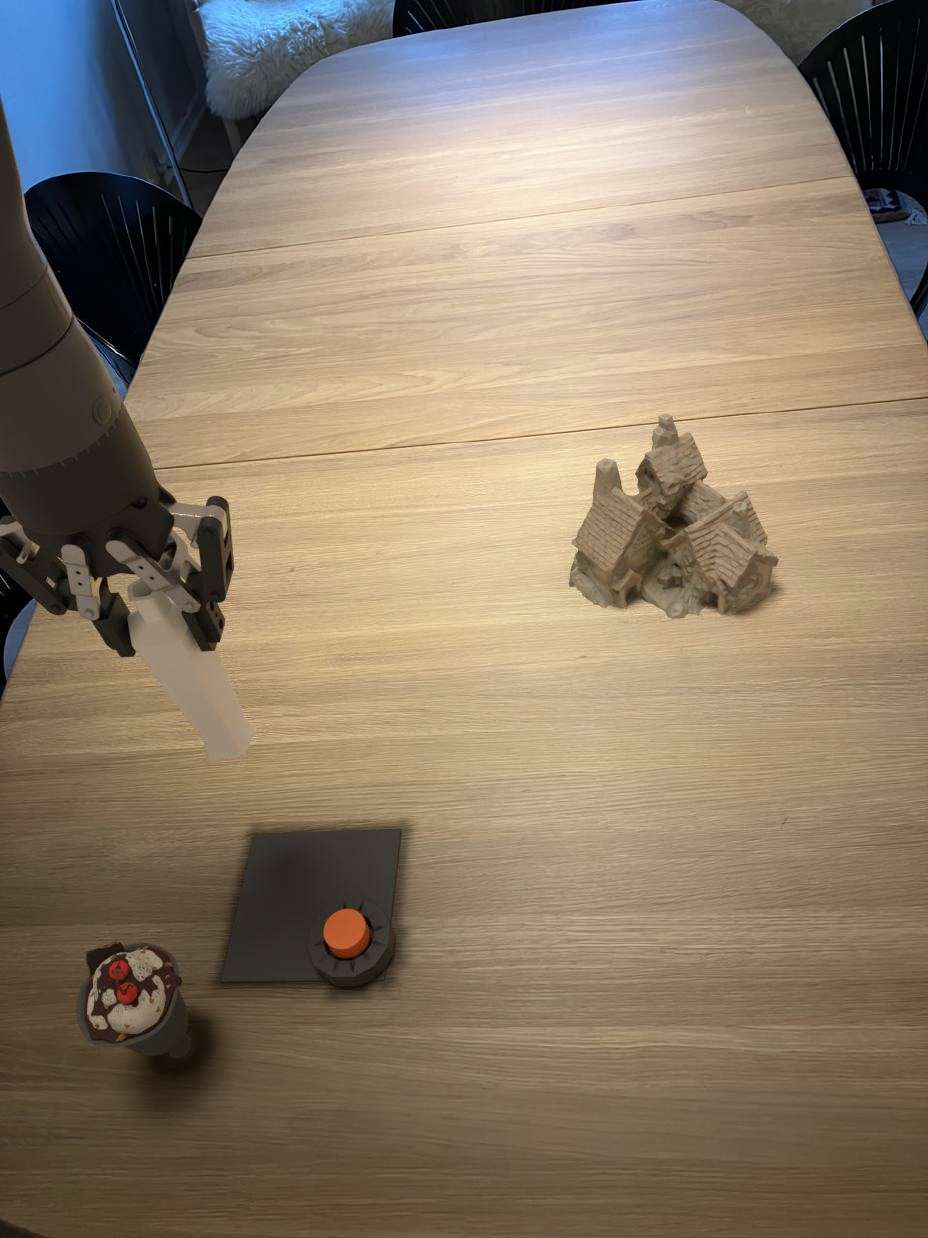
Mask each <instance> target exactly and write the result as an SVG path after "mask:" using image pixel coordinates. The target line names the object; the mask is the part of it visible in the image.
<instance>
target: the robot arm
mask: <svg viewBox="0 0 928 1238" xmlns="http://www.w3.org/2000/svg"><path fill="white" fill-rule="evenodd" d="M21 177H22V176H21V173H20V169H19V165H18V161H17V157H16V153H15V149H14V145H13V141H12V135H11V133H10V128H9V124H8V120H7V116H6V111H5V108H4V103H3V100H2V95H1V94H0V498H1V500H2V502H3V503H4V505H5V506H6V508H7V509H8V511H9V512H10V514H11V515H4V516H2V517H1V519H0V569H1V570H3V571H4V572H5V573H6V574H7V575H8V576H9V577H10V578H11V579H12V580H13V581H15V582H16V583H17V584H18V585H19V586H20V587H21V588H22V589H23V590H24V591H25V592H26V593H28V594H29V595H30V596H31V597H32V598H33V599H34V600H35V601H36V602H37V603H38V604H39V605H41V606H42V607H43V608H44V609H45V610H46V611H47V612H48V613H50V614H52V615H54V616H60V617H61V616H63V615H66V614H67V611H70V612H71V611H72V612H78V615H79V616H80V617H81V618H83V619H84V620H87V621H91V623H92V624H93V626H94V628H95V630H96V631H97V633H98V634H99V636H100V637H101V638H102V640H103V642H104V644H105V645H106V646H107V647H108V648H110V649H111V650H112V651H116V653H117V654H118V656H119V657H120V658H133V657H135V656H136V654H137V652H136V650H135V649H134V648H133V646H132V643H131V637H130V631H129V625H128V620H127V618H128V615H129V614H130V613H131V611H130V609H129V608H128V606H127V604H126V602H125V600H124V599H123V597H122V596H121V594H120V592H119V591H115V592H112V591H111V588H112V581H111V577H114V576H117V575H119V574H123V575H133V576H137V577H138V579H140V578H141V579H142V580H143V581H144V582H145V583H146V584H147V585H148V586H149V587H150V588H151V589H152V590H153V591H154V592H161V591H163V592H164V593H165V594H166V595H167V596H168V597H169V598H170V599H171V600H172V601H173V602H174V603H175V604H176V605H178V606H179V607H180V608H181V609H182V612H181V615H182V616H183V618H184V620H185V622H186V624H187V626H188V628H189V629H190V631H191V633H192V635H193V637H194V639H195V640H196V642H197V644H198V646H199V648H200V650H201V651H202V652H206V651H215V649H216V647H217V646H218V643H221V641H222V637H223V633H224V630H225V627H226V626H225V625H226V618H225V615H224V614H223V612H222V609H221V608H220V605H219V604H220V603H222V602H225V600H226V598H227V594H228V591H229V588H230V584H231V582H232V578H233V574H234V570H235V558H234V557H235V556H234V547H233V536H232V535H233V534H232V525H231V523H232V522H231V513H230V503H229V501H228V500H227V499H226V498H224V497H223V496H220V495H211V496H209V497H208V498H207V500H206V503H205V505H201V504H200V505H199V504H190V503H181V502H178V501H177V499H176V497H175V496H174V495H173V494H172V493H171V492H170V491H169V490H167V489H166V488H165V487H163V486H162V484H161V483H160V482H159V481H158V479H157V476H156V473H155V469H154V466H153V462H152V460H151V457H150V454H149V452H148V450H147V448H146V446H145V444H144V442H143V440H142V437H141V436H140V434H139V431H138V430H137V427H136V426H135V423H134V422H133V419H132V417H131V416H130V414H129V411H128V409H127V407H126V405H125V403H124V401H123V399H122V397H121V395H120V393H119V391H118V389H117V387H116V385H115V383H114V380H113V379H112V377H111V374H110V373H109V371H108V368H107V366H106V364H105V363H104V361H103V358H102V356H101V355H100V353H99V351H98V349H97V348H96V345H95V344H94V343H93V341H92V339H91V337H90V336H89V335H88V333H87V332H86V331H85V329H84V328H83V326H82V325H81V323H80V322H79V319H77V317H76V315H75V313H74V312H73V310H72V307H71V306H70V303H69V302H68V299H67V298H66V295H65V294H64V291H63V290H62V287H61V285H60V283H59V281H58V279H57V277H56V275H55V273H54V271H53V269H52V267H51V265H50V263H49V261H48V259H47V257H46V255H45V254H44V252H43V250H42V248H41V246H40V244H39V242H38V240H37V239H36V237H35V235H34V233H33V231H32V228H31V223H30V221H29V217H28V211H27V207H26V199H25V194H24V188H23V182H22V178H21ZM174 527H175V528H178V529H180V530H182V531H183V532H184V533H185V534H186V535H185V536H186V538H187V539H188V541H190V543H189V545H190V548H191V549H194V550H198V555H199V563H200V564H199V563H198V562H197V561H196V560H195V559H194V558H193V557H192V556H191V555H190V553H189V547H188V544H187V543H186V542H185V540H183V539H182V537H181V536H180V535H179V534H178V533H176V531H175V530H174V529H173V528H174ZM46 577H47V578H48V579H50V581H52V582H53V583H54V585H53V586H52V585H51V584H50V583H49V582H48V581H47V579H46Z"/></svg>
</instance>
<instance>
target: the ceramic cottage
mask: <svg viewBox="0 0 928 1238" xmlns="http://www.w3.org/2000/svg"><path fill="white" fill-rule="evenodd" d="M657 419H658V425H657V426H655V428H653V430H652V436H651V441H652V442H651V443H652V445H651V450H649V451H646V452H645V453H644V457H643V459H642V460H641V462H640V463H639V465H638V467H637V469H636V471H635V473H634V475H635V477H636V478H637V483H636V484H637V485H636V486H637V489H638V493H637V494H635V495H630V494H627V492H625V491H624V489H623V487H622V479H621V475H620V471H619V467H618V464H617V461H615V460H613V459H610V458H605V457H603V458H602V459H600V460H599V461H598V462H596V466H595V478H594V483H593V489H592V502H591V506H590V508H589V510H588V512H587V514H586V516H585V518H584V519H583V521H582V523H581V526H580V527H579V528H578V530H577V533H576V537H575V538H573V539H571V545H572V546H573V547H575V548H577V551H576V552H575V553H574V556H573V561H572V564H571V567H570V572H569V578H568V579H569V580H568V586H569V587H570V588H576V590H578V591H579V592H580V593H581V596H582V597H584V598H585V599H587V600H588V601H590V602H591V603H592V604H593V605H595V606H599V608H602V609H607V608H608V607H612V608H617V609H618V608H619V609H625V610H627V608H626V607H627V606H628V603H629V602H631V601H632V600H633V599H634V597H637V598H641V599H642V600H644V601H645V602H647V603H648V604H651V605H653V606H655V607H656V608H658V609H660V610H661V611H664V613H665V614H666V616H667V618H669V619H673V620H674V619H675V620H677V619H678V620H679V619H684V618H686V616H687V615H696V616H697V617H699V616H701V617H703V615H702V614H701V612H702V611H703V610H704V608H705V607H706V606H707V605H708V604H709V603H710V602H713V601H715V602H716V604H717V607H716V611H717V613H718V614H720V617H722V616H726V617H731V616H736V613H737V612H738V611H739V612H740V611H743V609H747V608H751V606H752V605H753V604H756V603H758V602H760V601H761V600H764V598H767V597H768V596H769V595H770V594H771V592H772V590H773V589H772V588H773V587H772V585H771V583H770V581H771V578H772V574H773V568H775V567H778V564H779V561H780V558H778V556H777V555H775V554H774V552H772V551H771V550H769V549H768V548H767V547H766V545H767V544H768V534H767V533H766V531H765V529H764V527H763V525H762V522H761V521H760V519H759V517H758V515H757V512H756V510H755V509H754V506H753V503H752V501H751V499H750V496H749V495H748V493H747V491H746V490H740V491H739V492H738V493H737V494H736V495H735V496H734V497H732V498H726V497H725V496H723V495H722V494H721V493H719V492H718V491H717V490H716V489H714V488H712V487H711V486H710V485H709V484H705V483H704V479H706V478H707V476H708V474H709V471H708V469H707V468H706V467H707V466H706V465H705V462H704V459H703V456H702V454H701V452H700V450H699V447H698V445H697V444H696V441H695V438H694V436H693V434H692V433H691V432H690V431H686V432H684V433H683V434H681V435H680V436H679V432H678V430H677V429H678V428H677V427H676V424H675V422H674V418H673V415H671V414H669V413H661V414H659V415H658V418H657Z"/></svg>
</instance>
